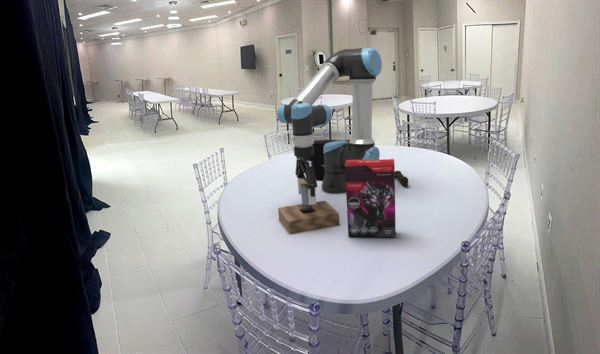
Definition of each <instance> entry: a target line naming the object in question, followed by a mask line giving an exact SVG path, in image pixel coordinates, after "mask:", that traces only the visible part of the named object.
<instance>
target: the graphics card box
mask: <svg viewBox="0 0 600 354" xmlns="http://www.w3.org/2000/svg"><path fill="white" fill-rule="evenodd" d="M395 166H396V165H395V159H394V158H391V159H390V158H389V159H388V158H385V159H381V158H380V159H379V160H346V164H345V178H346V192H345V195H346V196H345V199H346V215H347V216H346V217H347V219H346V220H347V236H348V237H349V238H350V237H351V238H352V237H353V238H354V237H355V238H357V237H358V238H368V237H369V238H396V232H397V231H396V230H397V229H396V228H397V227H396V178H395V171H396V170H395V168H396V167H395Z"/></svg>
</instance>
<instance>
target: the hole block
mask: <svg viewBox="0 0 600 354" xmlns="http://www.w3.org/2000/svg"><path fill="white" fill-rule="evenodd" d="M312 208H313V212H310V213H304V214H303V211H302V203H301V204H300V203H299V204H295V205H287V206H282V207H277V212H278V221H280V223H281V224H282V226H283V228H285V230H286V232H287V233H288V234H289V235H292V234H296V233H297V234H298V233H302V232H308V231H313V230H319V229H325V228H329V227H330V228H331V227H336V226H340V212H339V211H337V210H336V209H335V208H334V207H333V206H331V204H330V203H329V202H327V201H326V200H318V201H316V204H312Z"/></svg>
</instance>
